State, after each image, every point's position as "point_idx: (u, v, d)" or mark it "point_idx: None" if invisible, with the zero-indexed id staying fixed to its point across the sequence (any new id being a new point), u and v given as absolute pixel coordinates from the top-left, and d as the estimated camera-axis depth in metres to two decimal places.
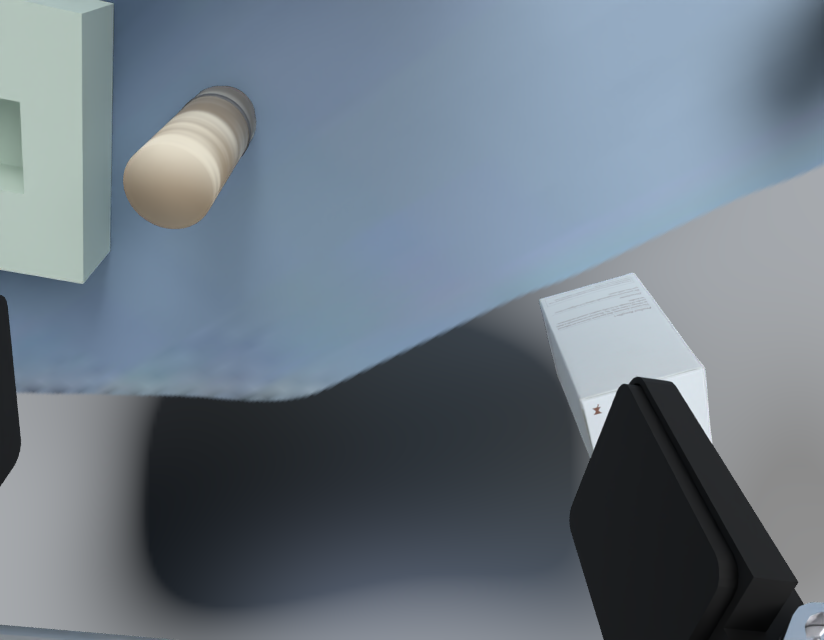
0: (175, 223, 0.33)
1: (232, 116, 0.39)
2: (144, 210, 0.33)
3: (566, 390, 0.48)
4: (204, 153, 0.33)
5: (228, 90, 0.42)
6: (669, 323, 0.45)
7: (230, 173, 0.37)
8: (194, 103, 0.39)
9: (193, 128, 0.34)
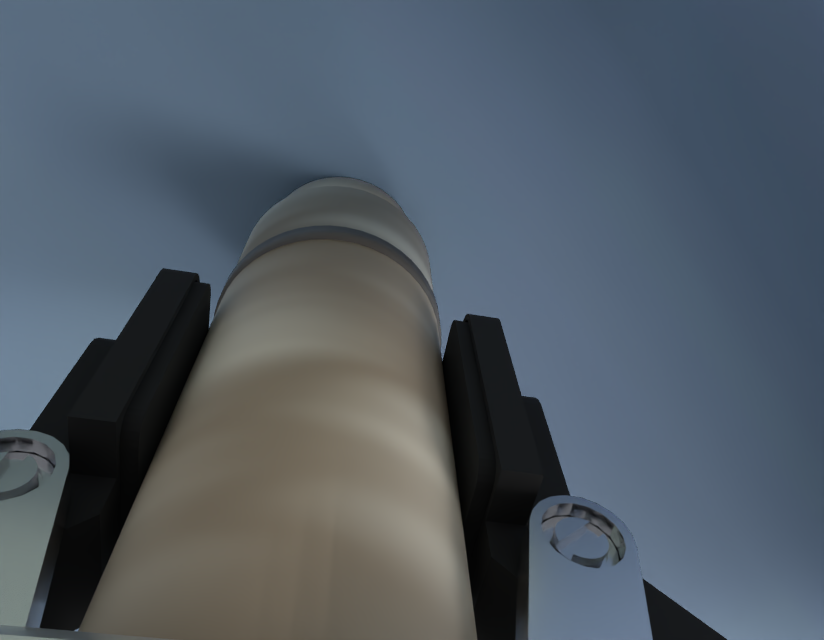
0: None
1: None
2: None
3: None
4: None
5: None
6: None
7: None
8: (441, 363, 0.11)
9: None
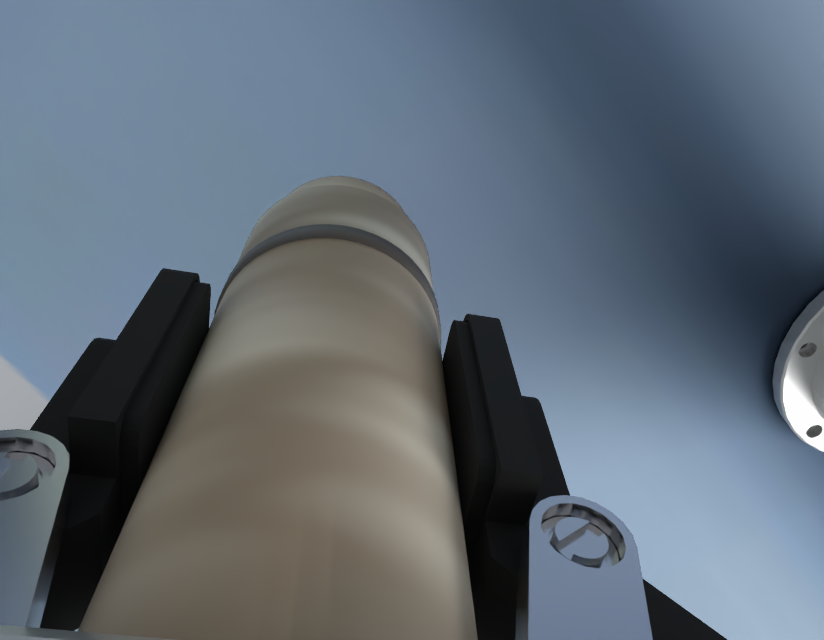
0: None
1: None
2: None
3: None
4: None
5: None
6: None
7: None
8: (441, 361, 0.11)
9: None
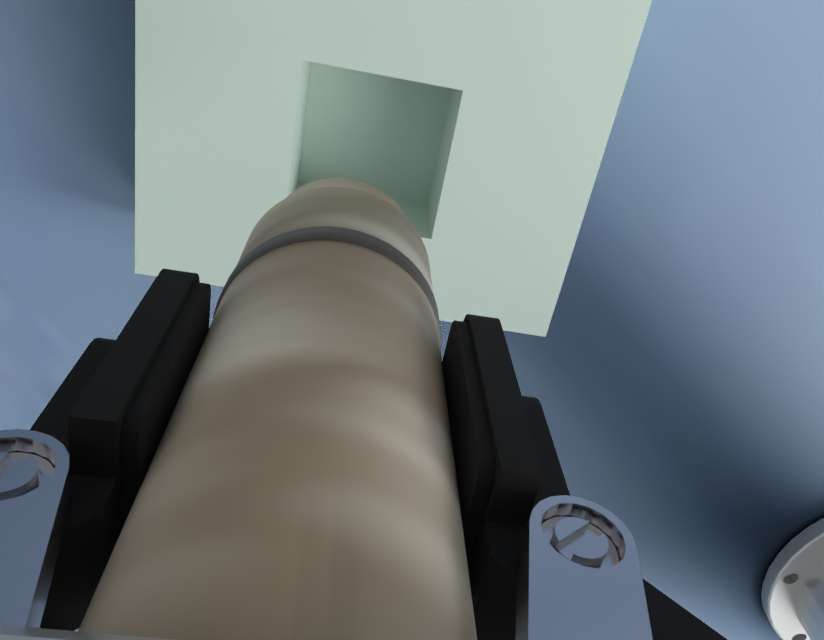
0: None
1: None
2: None
3: None
4: None
5: None
6: None
7: None
8: (441, 364, 0.11)
9: None
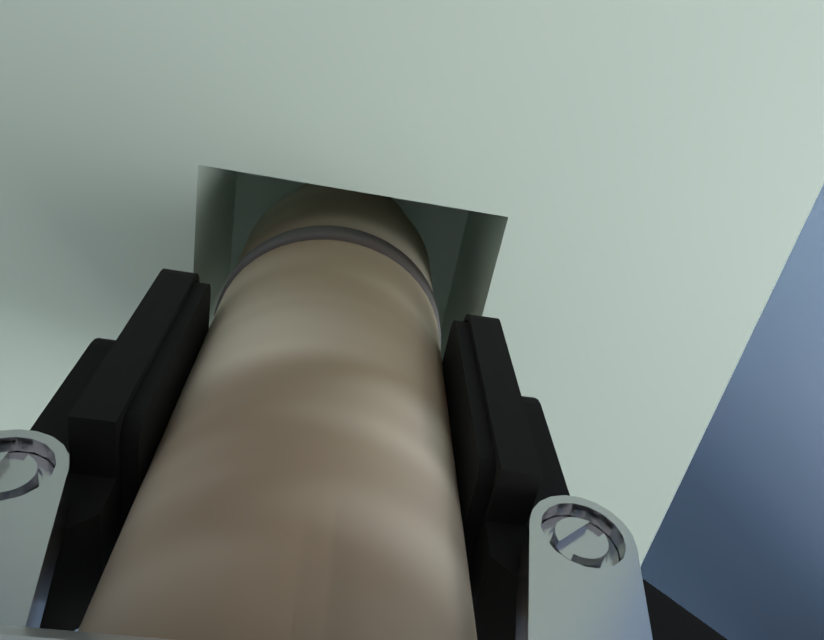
0: None
1: None
2: None
3: None
4: None
5: None
6: None
7: None
8: (441, 363, 0.11)
9: None
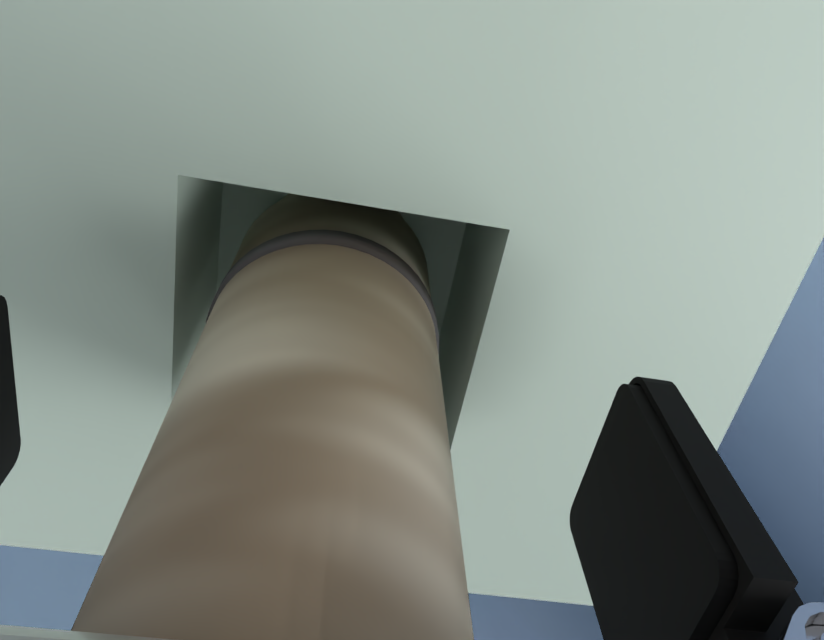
0: None
1: None
2: None
3: None
4: None
5: None
6: None
7: None
8: (439, 371, 0.11)
9: None
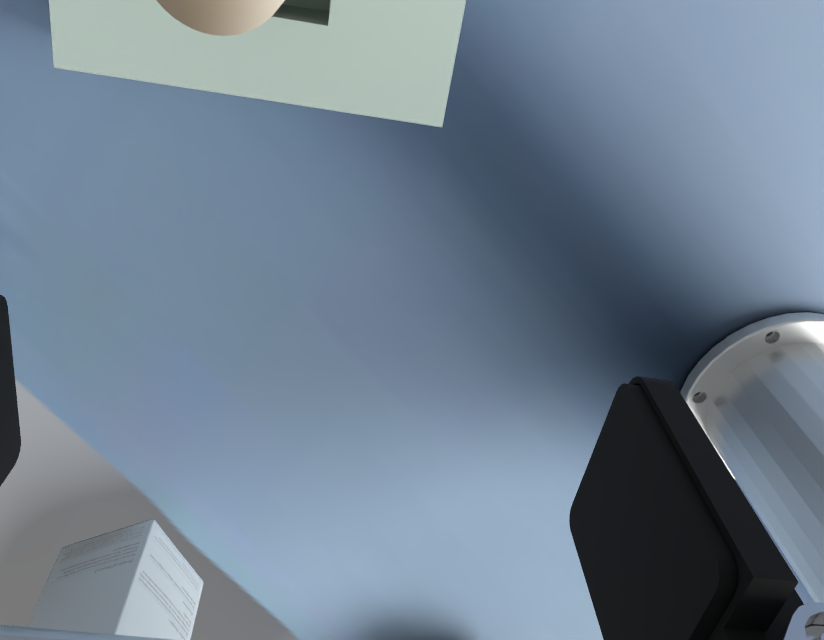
0: None
1: None
2: None
3: (70, 612, 0.43)
4: None
5: None
6: None
7: None
8: None
9: None
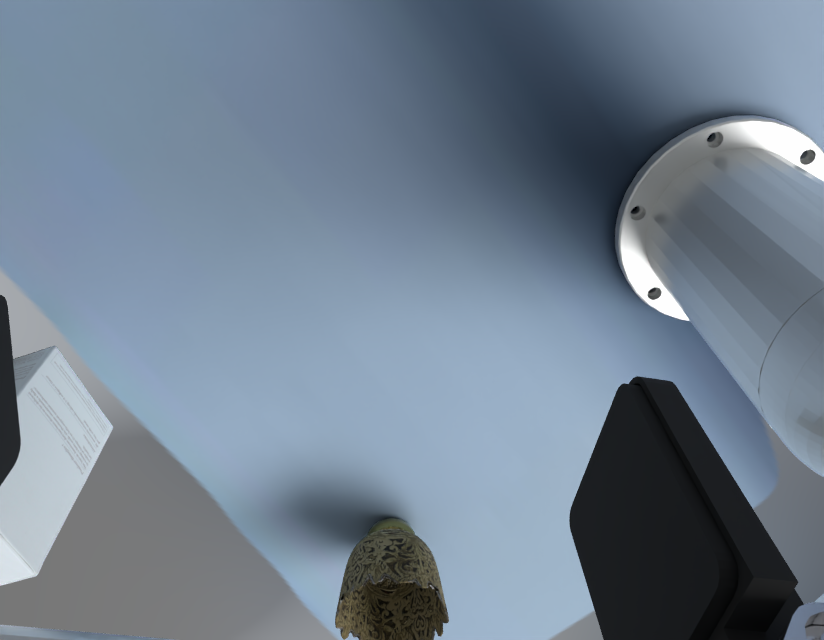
0: None
1: None
2: None
3: None
4: None
5: None
6: (71, 505, 0.42)
7: None
8: None
9: None
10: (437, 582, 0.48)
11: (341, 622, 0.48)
